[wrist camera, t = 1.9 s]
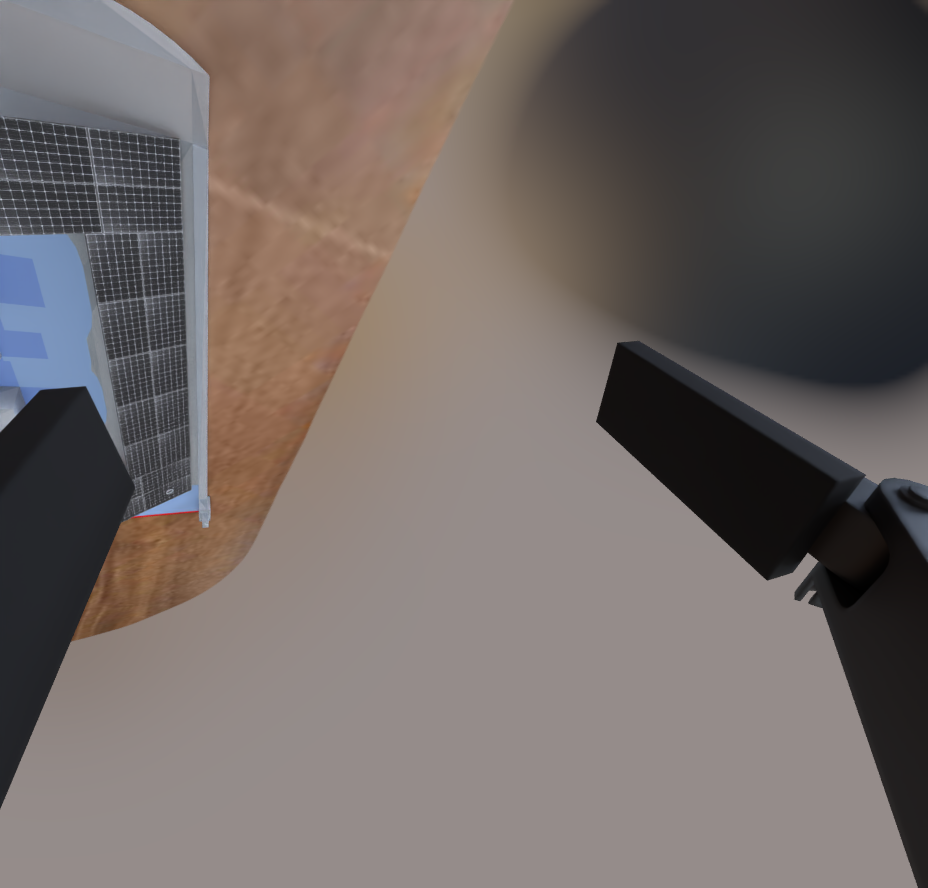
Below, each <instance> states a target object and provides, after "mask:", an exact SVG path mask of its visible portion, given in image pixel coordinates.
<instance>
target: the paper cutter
mask: <svg viewBox="0 0 928 888" xmlns="http://www.w3.org/2000/svg"><path fill="white" fill-rule="evenodd" d="M208 126H209V75H208V74H207V73H206V72H205V71H204V70H203V69H202V67H201V66H200V65H199V64H198V63H197V62H196V61H195V60H194V59H193V58H192V57H191V56H190V55H188V54H187V53H186V52H185V51H184V50H183V49H182V48H181V47H180V46H178V45H177V44H176V43H175V42H174V41H173V40H171V39H170V38H169V37H168V36H166V35H165V34H164V33H162V32H161V31H160V30H159V29H157V28H156V27H155V26H153V25H152V24H151V23H149V22H148V21H146V20H145V19H143V18H142V17H140V16H139V15H137V14H136V13H134V12H132V11H131V10H129V9H128V8H126V7H124V6H122V5H121V4H119V3H117V2H115V1H113V0H0V432H1V431H2V430H3V429H4V428H5V427H6V426H7V425H8V423H9V422H10V421H11V420H12V419H13V418H14V417H15V416H16V415H17V414H18V413H19V412H20V411H21V410H22V409H23V408H24V407H25V406H26V405H27V403H28V402H29V401H30V400H31V399H32V398H33V397H34V396H35V395H36V394H37V393H38V392H39V391H40V390H44V389H57V388H69V387H81V386H86V387H87V389H88V391H89V393H90V396H91V398H92V400H93V402H94V404H95V406H96V408H97V410H98V412H99V414H100V416H101V418H102V420H103V422H104V424H105V426H106V428H107V430H108V432H109V434H110V436H111V438H112V440H113V442H114V444H115V446H116V449H117V451H118V453H119V455H120V457H121V459H122V461H123V463H124V465H125V467H126V469H127V471H128V473H129V475H130V477H131V479H132V481H133V483H134V485H135V487H136V488H135V490H134V492H133V495H132V497H131V499H130V502H129V504H128V507H127V509H126V511H125V514H124V516H123V518H122V521H121V522H123V521H126V520H128V519H130V518H137V517H148V516H159V515H170V514H181V513H191V512H199V521H202V528H205V527H209V524H208V521H209V520H210V496H207V389H208Z"/></svg>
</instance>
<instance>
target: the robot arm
mask: <svg viewBox="0 0 928 888" xmlns="http://www.w3.org/2000/svg"><path fill="white" fill-rule="evenodd" d="M596 422H597V423H598V424H599V425H600V426H601V427H602V428H603V429H604V430H606V431H607V432H608V433H609V434H610V435H611V436H612V437H613V438H614V439H615V440H616V441H617V442H618V443H620V444H621V445H622V446H623V447H624V448H625V449H626V450H627V451H628V452H629V453H630V454H631V455H632V456H634V457H635V458H636V459H637V460H638V461H639V462H640V463H641V464H642V465H643V466H644V467H645V468H647V469H648V470H649V471H650V472H651V473H652V474H653V475H654V476H655V477H656V478H657V479H658V480H659V481H660V482H661V483H663V484H664V485H665V486H666V487H667V488H668V489H669V490H670V491H671V492H672V493H673V494H675V496H677V497H678V498H679V499H680V500H681V501H682V502H683V503H684V504H685V505H686V506H687V507H688V508H689V509H691V510H692V511H693V512H694V513H695V514H696V515H697V516H698V517H699V518H700V519H701V520H703V522H704V523H706V524H707V525H708V526H709V527H710V528H711V529H712V530H713V531H714V532H715V533H717V535H718V536H720V537H721V538H722V539H723V540H724V541H725V542H726V543H727V544H728V545H729V546H730V547H731V548H733V549H734V550H735V551H736V552H737V553H738V554H739V555H740V556H741V557H742V558H743V559H744V560H745V561H746V562H748V563H749V564H750V565H751V566H752V567H753V568H754V569H755V570H756V571H757V572H758V573H759V574H760V575H762V576H763V577H764V578H765V579H766V580H770V579H774V578H777V577H780V576H783V575H787V574H790V573H793V571H794V570H795V569H796V568H797V566H798V565H799V564H800V562H801V561H802V560H803V558H804V557H805V555H806V554H807V553H809V554H810V555H812V556H813V557H814V558H815V559H817V560H818V561H819V562H818V563H817V564H816V566H815V567H814V568H813V569H812V571H811V572H810V573H809V574H808V576H807V577H806V578H805V579H804V581H803V582H802V583H801V585H800V586H799V587H798V588H797V590H796V591H795V600H798V601H801V600H802V599H803V597H804V596H805V595H806V593H807V592H808V591H810V590H811V591H816V593H815V594H814V595H813V597H811V599H810V601H809V602H808V603H809V604H811V605H814V606H817V607H820V608H823V611H824V613H825V617H826V619H827V622H828V625H829V628H830V631H831V634H832V637H833V640H834V643H835V646H836V649H837V652H838V654H839V658H840V660H841V663H842V666H843V669H844V672H845V675H846V678H847V680H848V683H849V687H850V690H851V692H852V696H853V699H854V701H855V704H856V707H857V710H858V713H859V716H860V719H861V722H862V725H863V728H864V731H865V734H866V737H867V739H868V742H869V745H870V748H871V751H872V754H873V757H874V760H875V763H876V766H877V769H878V772H879V775H880V777H881V781H882V783H883V786H884V789H885V792H886V795H887V798H888V801H889V804H890V807H891V810H892V813H893V816H894V819H895V822H896V825H897V827H898V830H899V833H900V836H901V839H902V842H903V845H904V848H905V851H906V854H907V857H908V860H909V862H910V866H911V868H912V871H913V874H914V877H915V880H916V883H917V886H918V888H928V486H925V485H922V484H919V483H916V482H913V481H910V480H904V479H897V478H890V479H884V480H883V481H882V482H881V483H880V484H879V485H877V484H875V483H873V482H872V481H870V480H868V479H867V478H865V476H866V475H865V474H864V473H862V472H860V471H858V470H857V469H855V468H853V467H852V466H850V465H848V464H847V463H845V462H843V461H842V460H840V459H838V458H836V457H835V456H833V455H831V454H830V453H828V452H826V451H825V450H823V449H821V448H820V447H818V446H816V445H814V444H813V443H811V442H809V441H808V440H806V439H804V438H803V437H801V436H799V435H797V434H796V433H794V432H792V431H791V430H789V429H787V428H786V427H784V426H782V425H780V424H779V423H777V422H775V421H774V420H772V419H770V418H769V417H767V416H765V415H764V414H762V413H760V412H758V411H757V410H755V409H753V408H752V407H750V406H748V405H747V404H745V403H743V402H741V401H740V400H738V399H736V398H735V397H733V396H731V395H730V394H728V393H726V392H724V391H723V390H721V389H719V388H718V387H716V386H714V385H713V384H711V383H709V382H708V381H706V380H704V379H702V378H701V377H699V376H697V375H695V374H694V373H692V372H691V371H689V370H687V369H685V368H684V367H682V366H680V365H679V364H677V363H675V362H674V361H672V360H670V359H668V358H667V357H665V356H663V355H662V354H660V353H658V352H656V351H655V350H653V349H651V348H650V347H648V346H646V345H645V344H643V343H641V342H640V341H634V342H621V343H617V347H616V350H615V354H614V358H613V362H612V365H611V369H610V372H609V376H608V380H607V383H606V387H605V391H604V395H603V398H602V402H601V406H600V410H599V413H598V417H597V420H596ZM135 488H136V487H135V485H134V483H133V481H132V479H131V477H130V475H129V473H128V471H127V469H126V467H125V465H124V463H123V461H122V459H121V457H120V455H119V453H118V451H117V449H116V446H115V444H114V442H113V440H112V438H111V436H110V434H109V432H108V430H107V428H106V426H105V424H104V422H103V420H102V418H101V416H100V414H99V412H98V410H97V408H96V406H95V404H94V402H93V400H92V398H91V396H90V393H89V391H88V389H87V387H86V386H81V387H69V388H57V389H44V390H40V391H39V392H38V393H37V394H36V395H35V396H34V397H33V398H32V399H31V400H30V401H29V402H28V403H27V405H26V406H25V407H24V408H23V409H22V410H21V411H20V412H19V413H18V414H17V415H16V416H15V417H14V418H13V419H12V420H11V421H10V422H9V423H8V425H7V426H6V427H5V428H4V429H3V430H2V431H1V432H0V808H1V806H2V803H3V801H4V799H5V796H6V794H7V792H8V789H9V787H10V784H11V782H12V780H13V777H14V775H15V773H16V770H17V768H18V765H19V763H20V761H21V758H22V756H23V754H24V751H25V749H26V746H27V744H28V742H29V739H30V737H31V735H32V732H33V730H34V727H35V725H36V722H37V720H38V718H39V715H40V713H41V711H42V708H43V706H44V704H45V701H46V699H47V697H48V694H49V692H50V689H51V687H52V685H53V682H54V680H55V678H56V675H57V673H58V670H59V668H60V665H61V663H62V661H63V658H64V656H65V654H66V651H67V649H68V647H69V644H70V642H71V640H72V637H73V635H74V632H75V630H76V628H77V625H78V623H79V621H80V618H81V616H82V613H83V611H84V609H85V606H86V604H87V602H88V599H89V597H90V594H91V592H92V590H93V587H94V585H95V583H96V580H97V578H98V575H99V573H100V571H101V568H102V566H103V564H104V561H105V559H106V556H107V554H108V552H109V549H110V547H111V545H112V542H113V540H114V537H115V535H116V533H117V530H118V528H119V526H120V523H121V521H122V518H123V516H124V514H125V511H126V509H127V507H128V504H129V502H130V499H131V497H132V495H133V492H134V490H135Z"/></svg>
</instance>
